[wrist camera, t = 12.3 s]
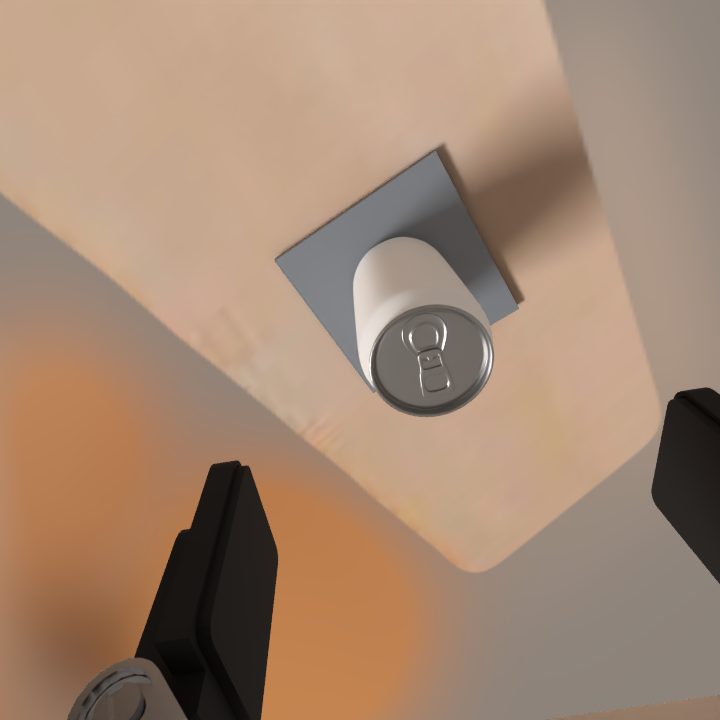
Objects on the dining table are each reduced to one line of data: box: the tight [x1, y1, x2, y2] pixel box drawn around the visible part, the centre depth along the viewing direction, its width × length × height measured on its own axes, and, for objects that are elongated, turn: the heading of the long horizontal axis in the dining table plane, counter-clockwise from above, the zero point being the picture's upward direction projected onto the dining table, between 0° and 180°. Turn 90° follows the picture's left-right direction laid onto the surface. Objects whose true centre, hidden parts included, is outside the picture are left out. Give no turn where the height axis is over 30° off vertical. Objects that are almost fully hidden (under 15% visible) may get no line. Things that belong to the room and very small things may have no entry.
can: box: [353, 237, 494, 417], centre depth 27 cm, size 6×6×12 cm
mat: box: [275, 150, 519, 393], centre depth 33 cm, size 12×12×1 cm
